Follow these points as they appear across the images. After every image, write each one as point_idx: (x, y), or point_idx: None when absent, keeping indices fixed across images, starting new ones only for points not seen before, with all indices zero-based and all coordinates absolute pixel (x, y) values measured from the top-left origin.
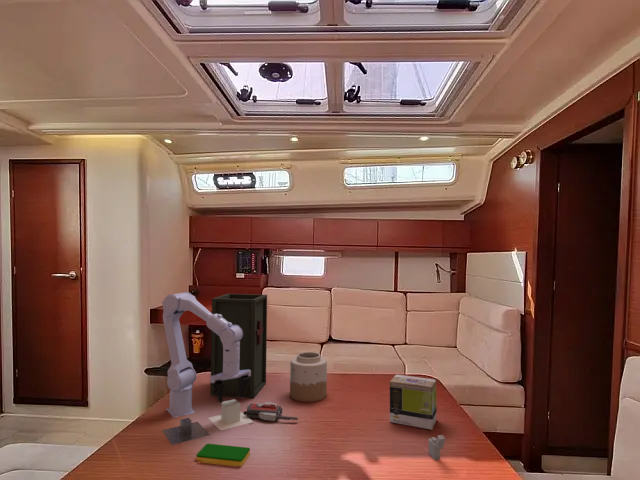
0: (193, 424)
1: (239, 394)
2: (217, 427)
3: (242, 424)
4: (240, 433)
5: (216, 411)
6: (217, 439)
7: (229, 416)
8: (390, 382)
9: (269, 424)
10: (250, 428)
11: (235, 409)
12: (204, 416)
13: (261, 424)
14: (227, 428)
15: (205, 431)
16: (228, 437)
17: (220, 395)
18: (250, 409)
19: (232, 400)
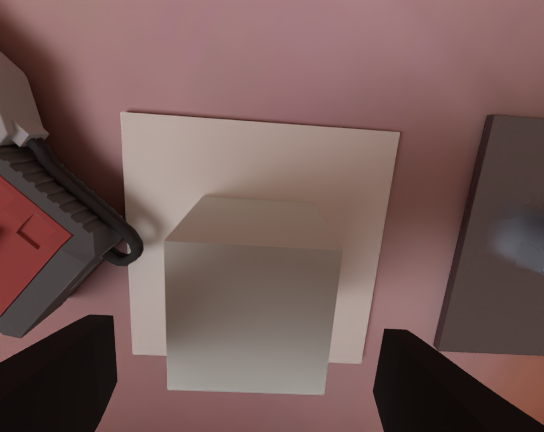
0: (479, 329)
1: (99, 387)
2: (389, 194)
3: (216, 124)
4: (292, 9)
5: (259, 426)
6: (476, 31)
7: (296, 214)
8: None
9: (13, 4)
10: (185, 41)
11: (235, 226)
12: (352, 403)
13: (75, 51)
14: (343, 132)
15: (485, 186)
16: (399, 6)
17: (490, 396)
18: (72, 225)
19: (203, 371)
